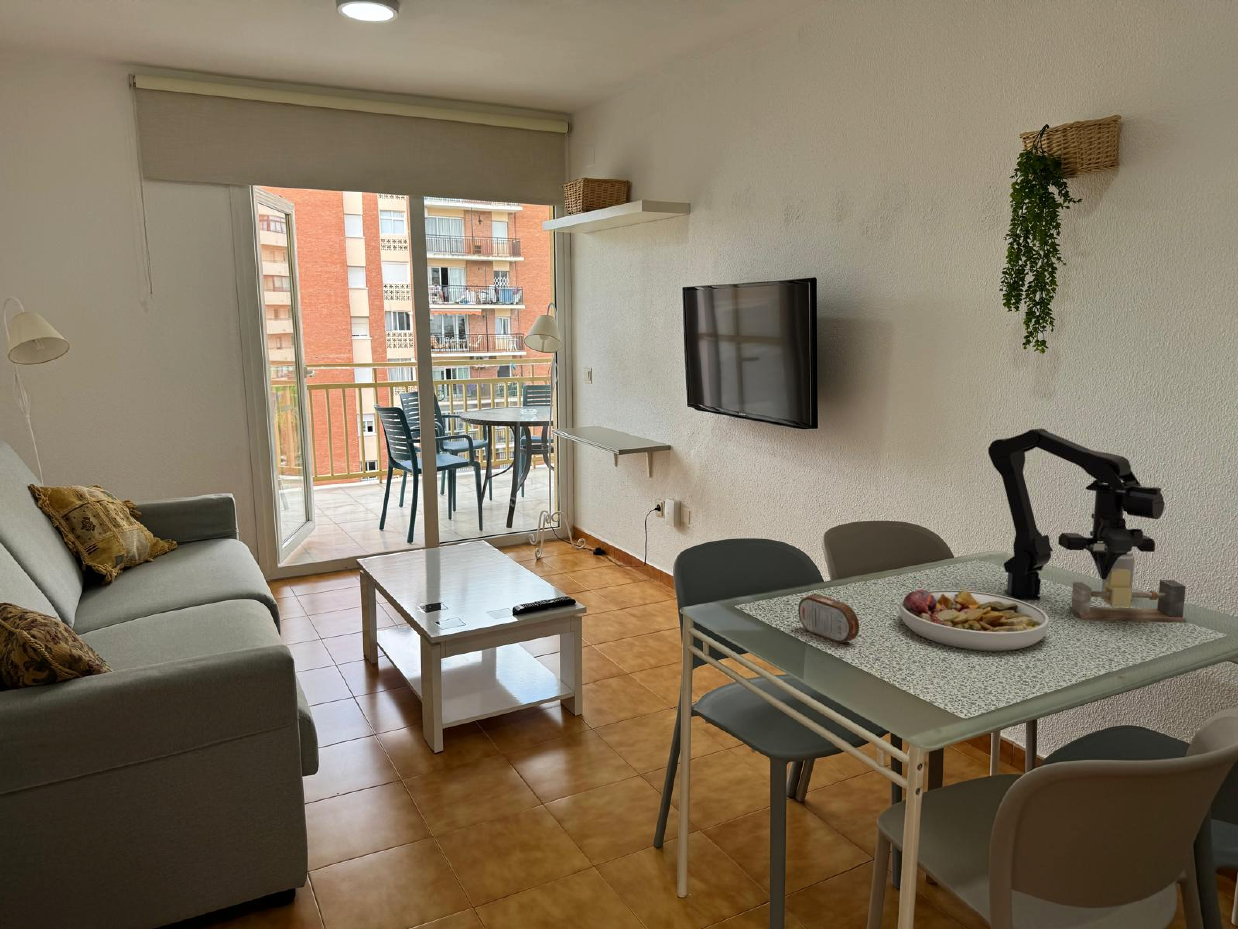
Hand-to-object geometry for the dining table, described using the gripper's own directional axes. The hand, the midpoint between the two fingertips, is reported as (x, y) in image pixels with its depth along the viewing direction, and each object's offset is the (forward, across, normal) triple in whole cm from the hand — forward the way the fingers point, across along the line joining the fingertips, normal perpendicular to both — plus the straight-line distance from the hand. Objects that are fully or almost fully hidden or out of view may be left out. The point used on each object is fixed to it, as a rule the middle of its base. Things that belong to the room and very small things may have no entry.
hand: (1103, 579), depth 198 cm
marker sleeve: (+6, +3, 0) cm, 7 cm away
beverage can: (+9, +10, +14) cm, 19 cm away
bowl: (+9, -32, -13) cm, 36 cm away
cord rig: (+9, +6, 0) cm, 10 cm away
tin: (+9, -64, -20) cm, 68 cm away
